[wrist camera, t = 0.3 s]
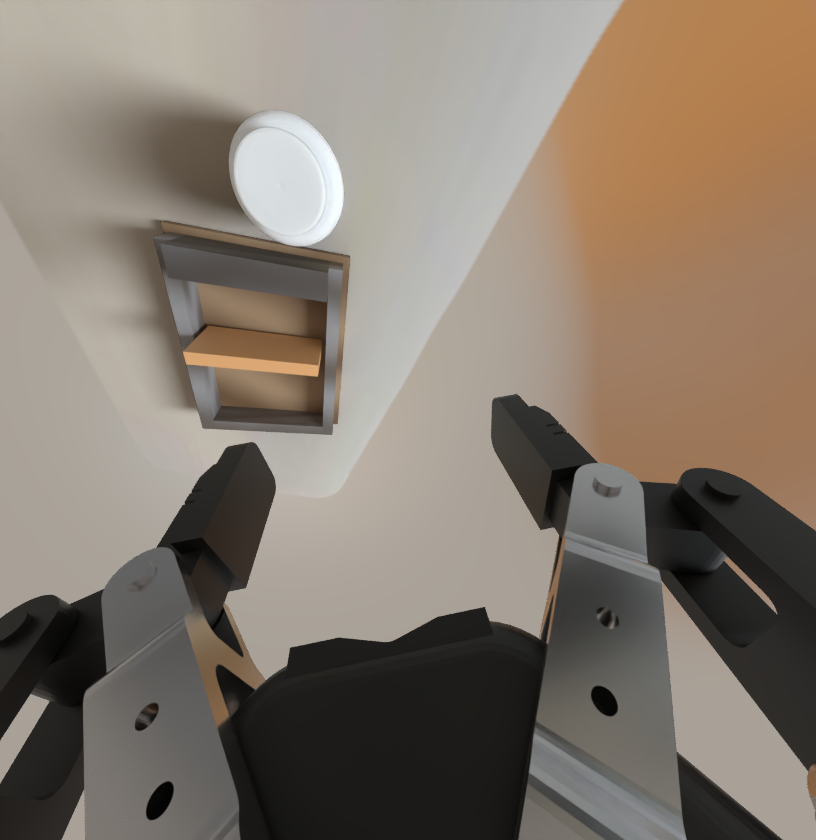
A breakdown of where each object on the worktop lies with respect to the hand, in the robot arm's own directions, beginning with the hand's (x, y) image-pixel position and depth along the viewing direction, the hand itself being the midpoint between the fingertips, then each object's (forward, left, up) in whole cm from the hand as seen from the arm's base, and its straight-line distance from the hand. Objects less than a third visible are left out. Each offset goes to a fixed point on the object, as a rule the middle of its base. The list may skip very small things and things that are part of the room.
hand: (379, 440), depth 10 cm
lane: (+7, -8, -20) cm, 23 cm away
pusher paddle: (+5, -8, -19) cm, 21 cm away
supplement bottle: (-6, -5, -21) cm, 22 cm away
